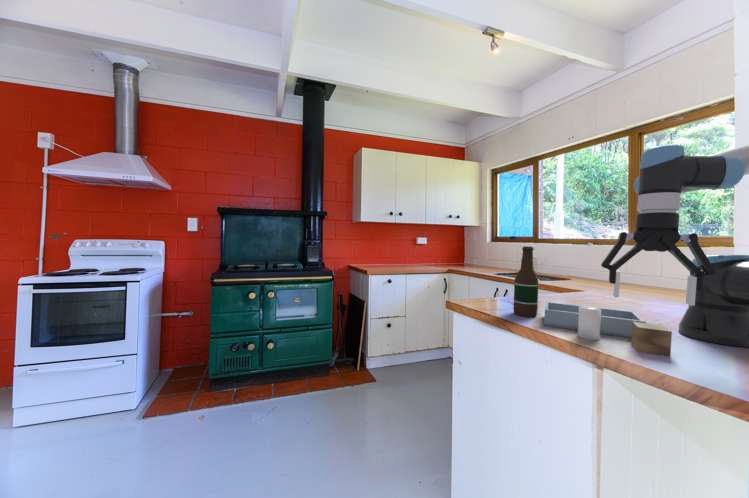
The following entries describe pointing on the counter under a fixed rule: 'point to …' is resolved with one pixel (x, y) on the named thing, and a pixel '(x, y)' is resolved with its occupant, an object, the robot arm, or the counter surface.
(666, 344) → the walnut cube
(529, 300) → the beer bottle
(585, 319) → the ceramic canister
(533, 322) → the counter surface
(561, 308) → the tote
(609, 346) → the counter surface
